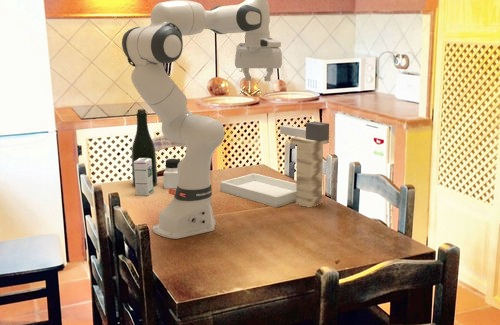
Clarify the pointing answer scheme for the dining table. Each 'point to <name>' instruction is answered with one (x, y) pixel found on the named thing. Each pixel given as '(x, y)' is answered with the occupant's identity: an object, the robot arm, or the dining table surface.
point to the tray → (261, 189)
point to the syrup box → (143, 176)
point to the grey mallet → (308, 131)
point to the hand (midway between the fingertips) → (257, 81)
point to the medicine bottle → (171, 173)
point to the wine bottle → (143, 144)
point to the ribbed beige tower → (309, 171)
